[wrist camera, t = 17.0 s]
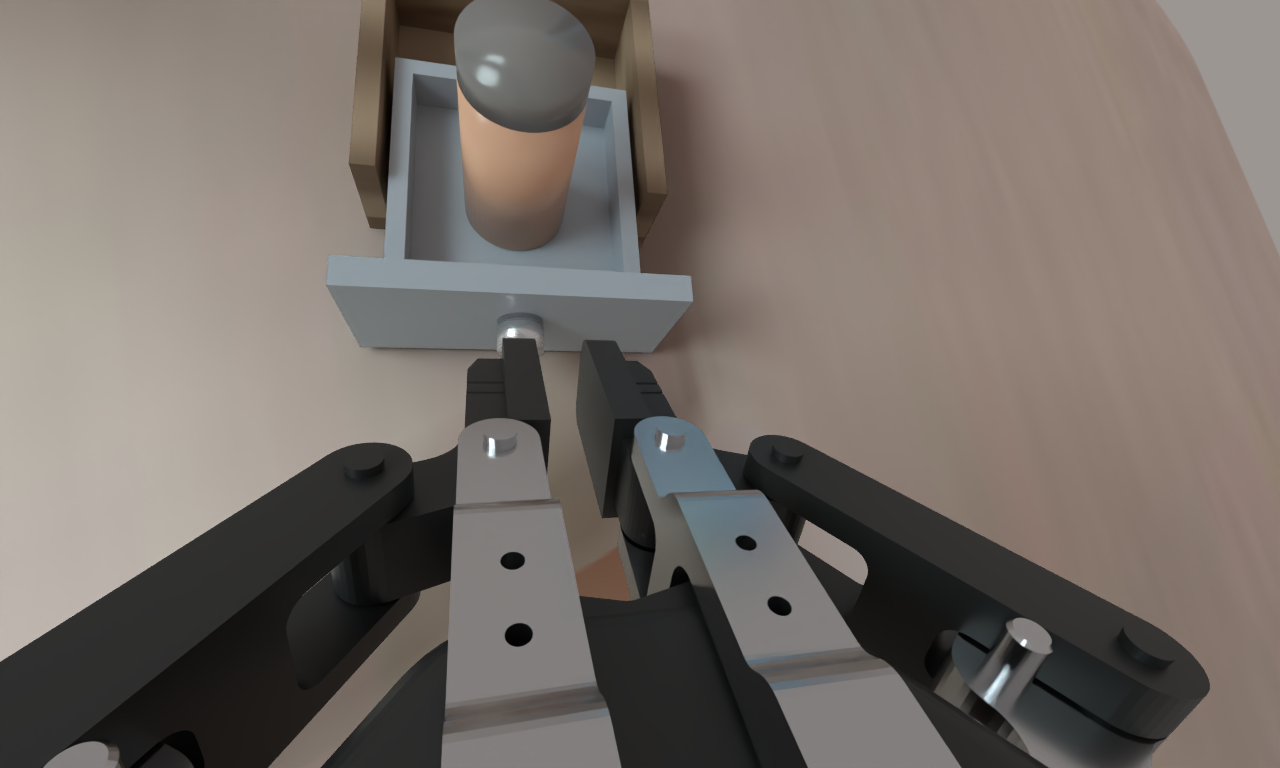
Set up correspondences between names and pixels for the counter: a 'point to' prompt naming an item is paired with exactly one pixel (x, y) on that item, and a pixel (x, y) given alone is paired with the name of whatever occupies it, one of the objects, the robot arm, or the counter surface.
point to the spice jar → (520, 115)
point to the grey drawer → (490, 275)
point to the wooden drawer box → (424, 30)
